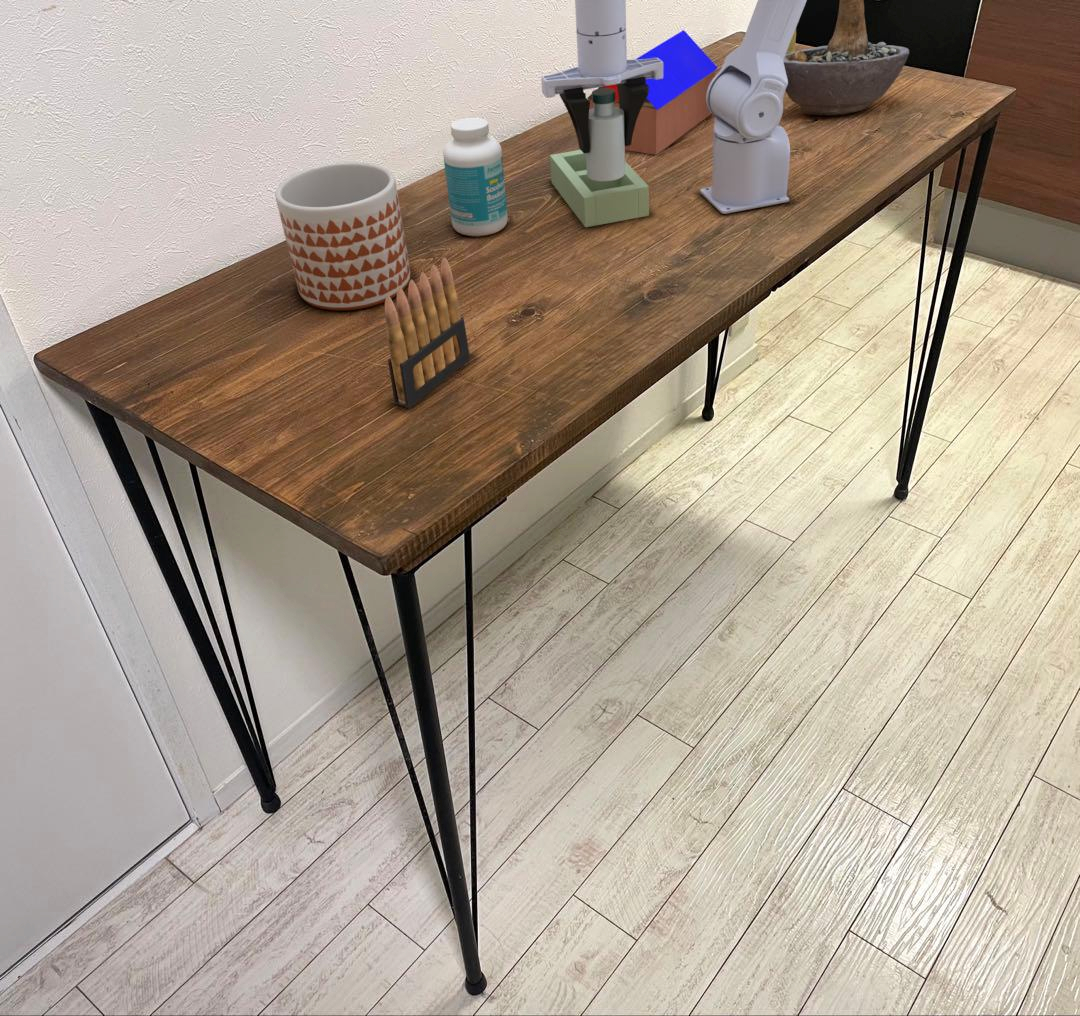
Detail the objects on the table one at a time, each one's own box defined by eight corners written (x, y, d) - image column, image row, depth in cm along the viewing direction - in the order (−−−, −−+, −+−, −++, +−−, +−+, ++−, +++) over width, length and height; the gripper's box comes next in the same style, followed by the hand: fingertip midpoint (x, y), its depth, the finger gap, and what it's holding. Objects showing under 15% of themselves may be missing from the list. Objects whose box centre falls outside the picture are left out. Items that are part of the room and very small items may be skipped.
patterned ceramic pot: (379, 318, 117) (359, 213, 109) (277, 305, 122) (251, 203, 113) (429, 265, 127) (414, 164, 119) (334, 254, 131) (313, 157, 123)
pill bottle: (501, 239, 131) (490, 134, 123) (446, 238, 133) (431, 134, 124) (514, 215, 137) (504, 113, 128) (461, 213, 138) (448, 113, 130)
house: (716, 111, 162) (719, 33, 154) (657, 156, 149) (657, 73, 142) (649, 102, 167) (649, 26, 160) (586, 144, 155) (583, 64, 147)
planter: (766, 119, 157) (776, -23, 145) (820, 87, 167) (834, -49, 154) (855, 137, 149) (874, -12, 137) (906, 102, 159) (928, -40, 146)
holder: (610, 172, 146) (609, 144, 143) (649, 215, 134) (649, 186, 131) (551, 182, 144) (549, 154, 142) (585, 227, 132) (583, 198, 130)
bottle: (617, 163, 130) (615, 82, 123) (630, 177, 126) (629, 94, 120) (581, 170, 129) (578, 89, 123) (593, 184, 125) (590, 101, 119)
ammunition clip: (457, 354, 110) (442, 251, 102) (470, 358, 109) (457, 255, 102) (394, 404, 103) (373, 298, 96) (408, 409, 103) (388, 302, 95)
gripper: (550, 47, 113) (557, 168, 121) (673, 28, 115) (672, 147, 124) (533, 31, 118) (541, 148, 127) (651, 13, 120) (651, 129, 129)
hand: (604, 146), depth 125 cm, fingers closed on bottle, 5 cm apart
